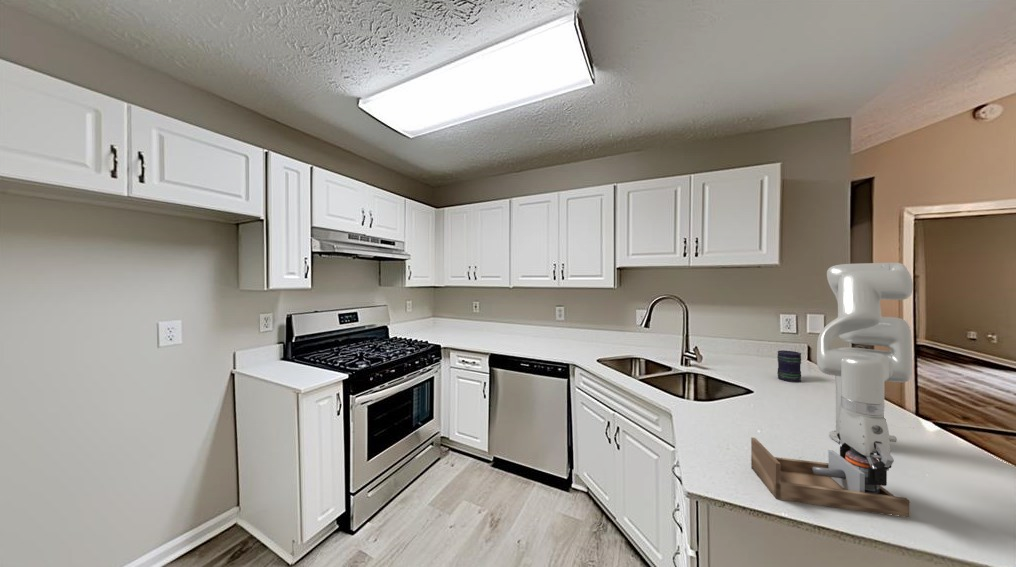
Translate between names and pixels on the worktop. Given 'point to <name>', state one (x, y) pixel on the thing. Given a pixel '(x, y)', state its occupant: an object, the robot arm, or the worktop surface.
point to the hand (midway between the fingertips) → (861, 472)
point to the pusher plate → (842, 473)
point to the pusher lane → (817, 485)
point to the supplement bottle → (862, 468)
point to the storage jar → (789, 366)
